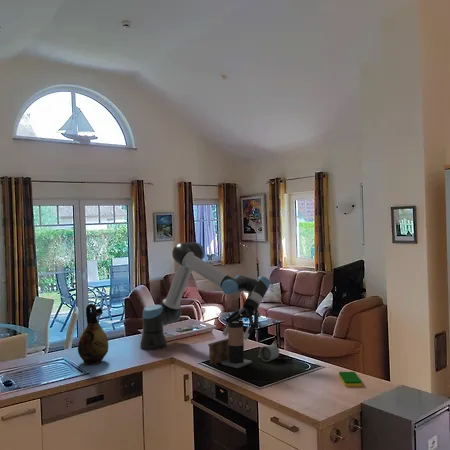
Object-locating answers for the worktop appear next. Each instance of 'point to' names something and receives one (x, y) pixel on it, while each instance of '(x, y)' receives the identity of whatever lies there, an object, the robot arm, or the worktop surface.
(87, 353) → the ceramic jug
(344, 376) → the dish sponge
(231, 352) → the travel mug
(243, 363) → the slate tile
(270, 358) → the ceramic mug
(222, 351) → the walnut screen
